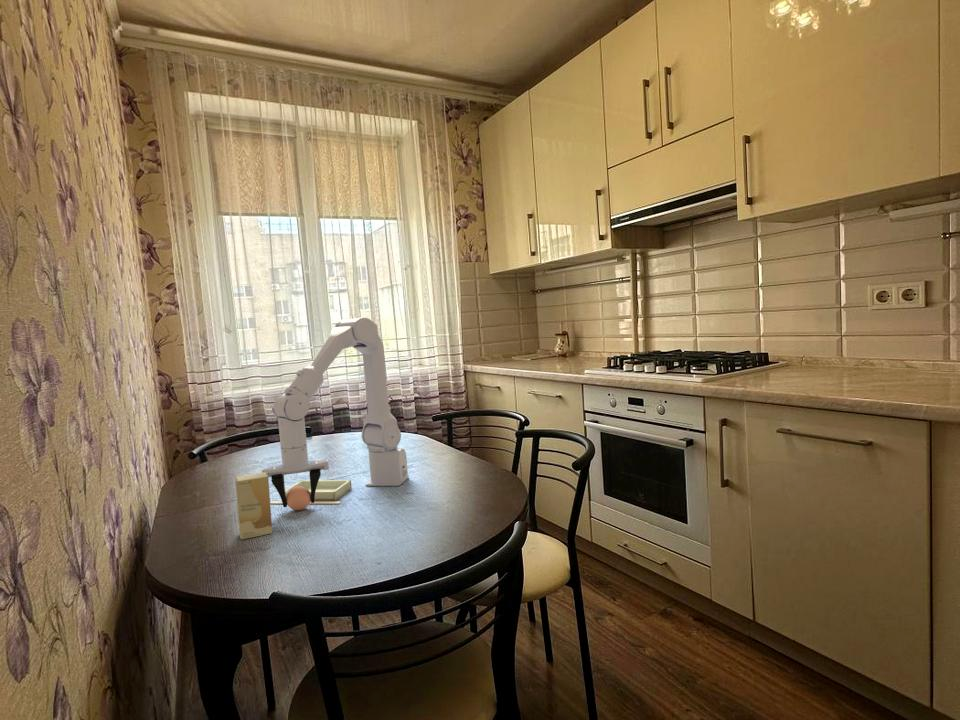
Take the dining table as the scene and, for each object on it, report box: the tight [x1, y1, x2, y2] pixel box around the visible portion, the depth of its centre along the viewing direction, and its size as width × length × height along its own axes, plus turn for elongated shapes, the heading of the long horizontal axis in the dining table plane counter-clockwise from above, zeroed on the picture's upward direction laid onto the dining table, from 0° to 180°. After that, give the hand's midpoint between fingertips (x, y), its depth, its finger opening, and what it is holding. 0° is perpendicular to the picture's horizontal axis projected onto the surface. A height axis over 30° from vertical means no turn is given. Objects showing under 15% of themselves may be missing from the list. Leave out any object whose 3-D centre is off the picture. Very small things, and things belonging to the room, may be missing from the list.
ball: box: [286, 486, 311, 511], centre depth 127 cm, size 6×6×6 cm
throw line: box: [270, 500, 341, 505], centre depth 132 cm, size 18×1×1 cm, turn 79°
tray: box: [285, 479, 352, 501], centre depth 138 cm, size 14×10×2 cm
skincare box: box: [234, 472, 273, 540], centre depth 113 cm, size 6×4×12 cm
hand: (299, 503), depth 127 cm, fingers closed on ball, 5 cm apart
